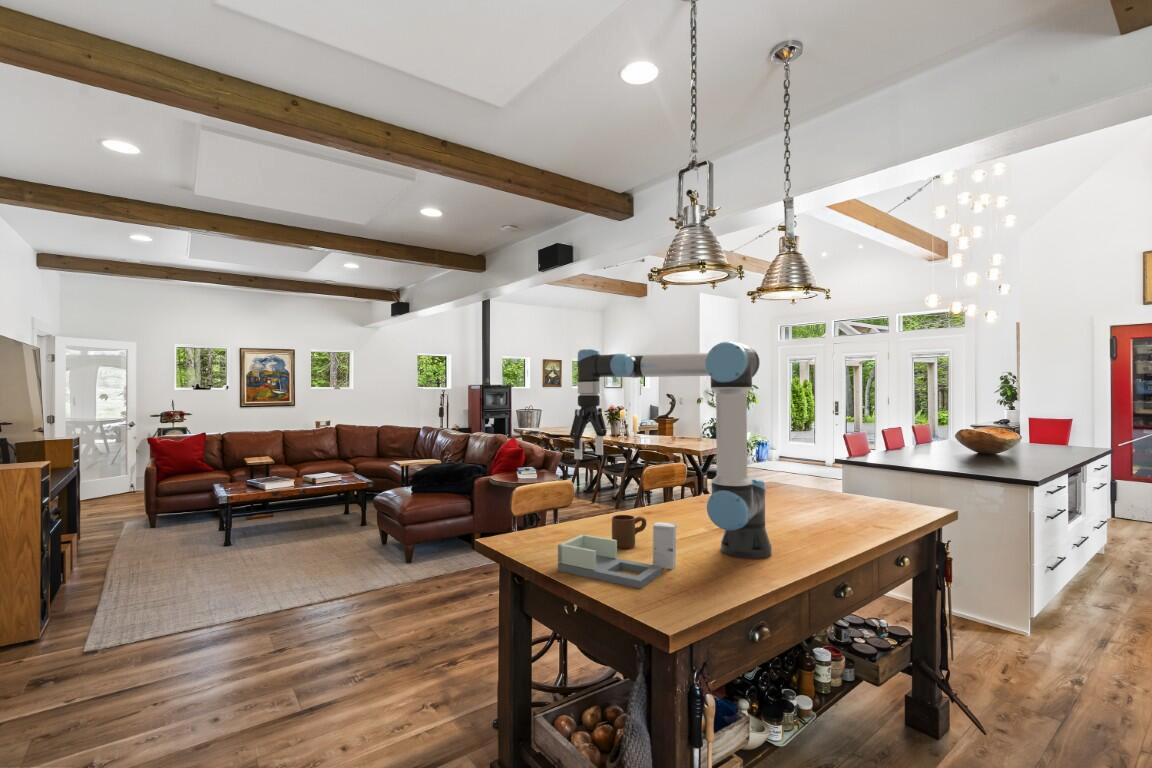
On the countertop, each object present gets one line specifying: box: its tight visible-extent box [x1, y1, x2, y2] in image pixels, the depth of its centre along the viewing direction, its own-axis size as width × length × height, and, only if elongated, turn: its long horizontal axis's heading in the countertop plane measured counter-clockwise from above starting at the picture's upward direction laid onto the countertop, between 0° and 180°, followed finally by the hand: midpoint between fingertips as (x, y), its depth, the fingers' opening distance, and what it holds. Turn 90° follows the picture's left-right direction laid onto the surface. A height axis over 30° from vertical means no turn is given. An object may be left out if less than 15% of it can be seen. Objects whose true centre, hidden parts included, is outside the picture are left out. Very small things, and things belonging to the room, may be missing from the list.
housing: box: [557, 533, 618, 570], centre depth 156 cm, size 12×13×5 cm
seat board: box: [557, 555, 663, 590], centre depth 152 cm, size 26×13×2 cm, turn 57°
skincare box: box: [652, 521, 677, 570], centre depth 157 cm, size 6×4×12 cm
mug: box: [611, 514, 647, 550], centre depth 178 cm, size 12×8×9 cm, turn 109°
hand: (589, 456), depth 186 cm, fingers open, 13 cm apart
